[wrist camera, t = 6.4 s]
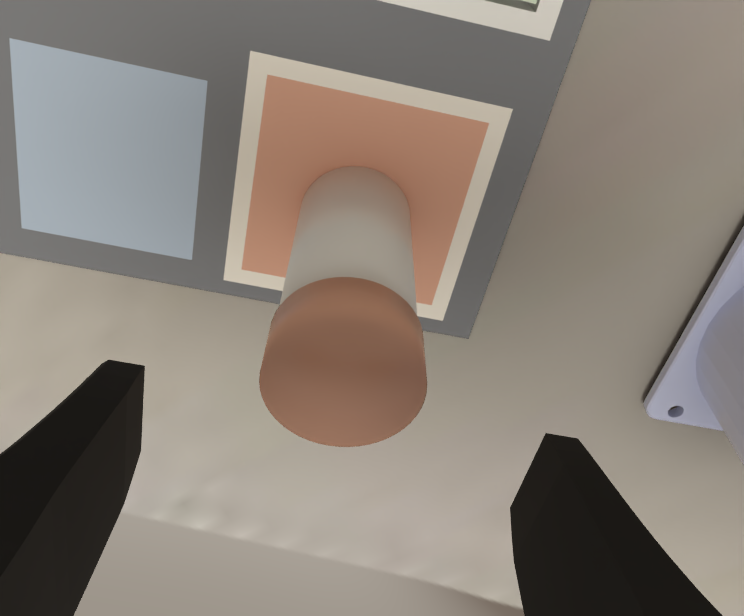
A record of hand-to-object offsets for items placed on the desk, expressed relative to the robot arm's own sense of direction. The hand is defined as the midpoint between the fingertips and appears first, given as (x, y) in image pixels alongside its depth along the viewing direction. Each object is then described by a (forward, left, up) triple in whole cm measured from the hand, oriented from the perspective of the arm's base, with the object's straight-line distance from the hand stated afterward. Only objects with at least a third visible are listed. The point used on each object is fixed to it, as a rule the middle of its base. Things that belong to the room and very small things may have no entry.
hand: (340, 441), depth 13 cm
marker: (0, 0, -9) cm, 9 cm away
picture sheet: (+3, -4, -9) cm, 11 cm away
